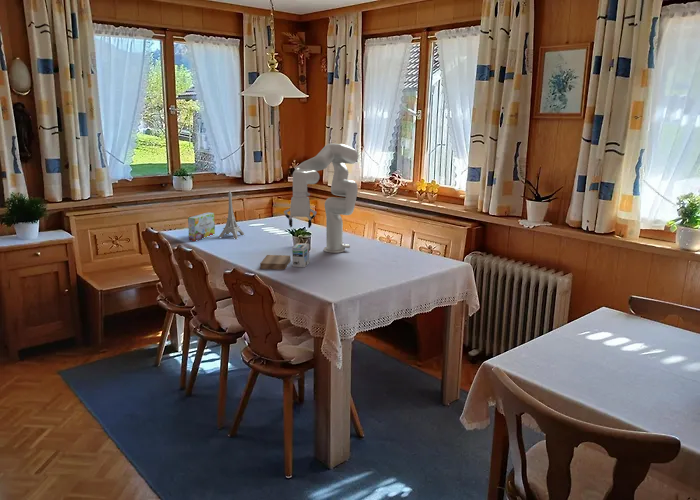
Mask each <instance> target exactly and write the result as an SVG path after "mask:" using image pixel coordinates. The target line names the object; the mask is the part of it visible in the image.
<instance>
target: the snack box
mask: <svg viewBox="0 0 700 500" xmlns="http://www.w3.org/2000/svg"><path fill="white" fill-rule="evenodd" d="M187 222H188V224H187V225H188V241H189V240H192V241H191V242H197V241H196V240H198V241H200V240H199V239H201V240H203V239H202V238H204V237H207V236H210V235H213V234H215V235H216V229H215V228H216V227H215V212H208V211H207V212H204V213H201V214H197V215H192V216H190V217H189V216H188V218H187ZM213 236H214V235H213ZM210 237H211V236H210ZM207 238H208V237H207ZM204 239H205V238H204Z"/></svg>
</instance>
